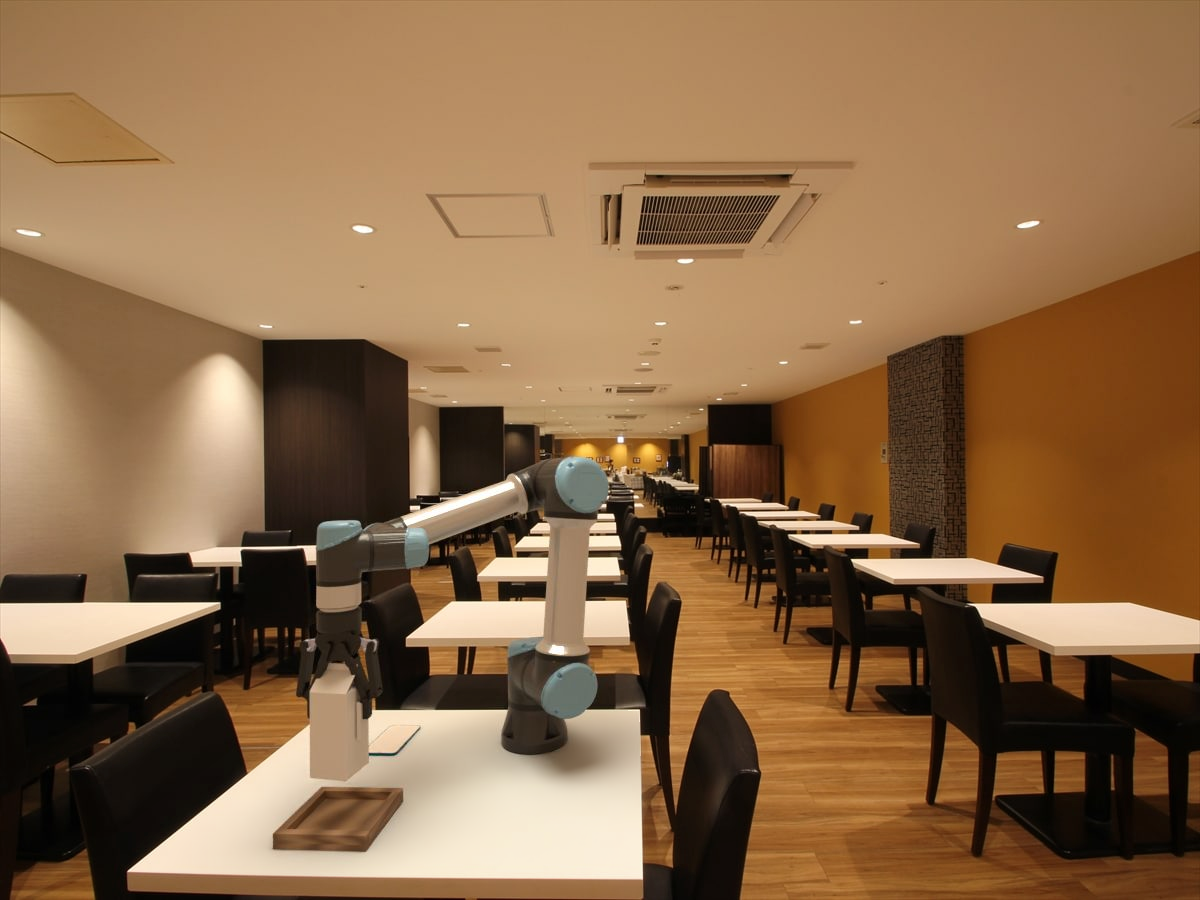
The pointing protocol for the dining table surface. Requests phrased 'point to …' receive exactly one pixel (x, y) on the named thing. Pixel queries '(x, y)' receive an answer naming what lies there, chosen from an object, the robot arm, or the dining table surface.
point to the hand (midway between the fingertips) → (339, 736)
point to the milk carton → (335, 726)
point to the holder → (339, 819)
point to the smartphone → (392, 740)
